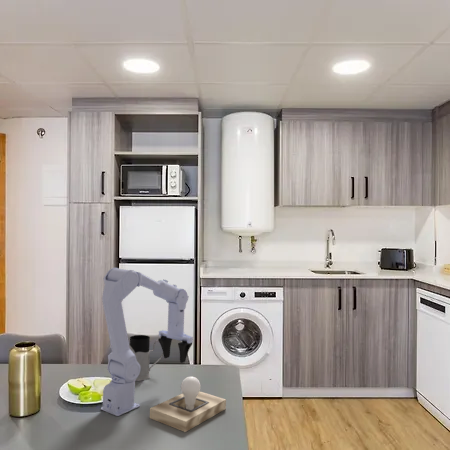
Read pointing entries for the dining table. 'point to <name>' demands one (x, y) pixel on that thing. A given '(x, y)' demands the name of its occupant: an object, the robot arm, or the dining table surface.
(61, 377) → the dining table surface
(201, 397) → the socket plate
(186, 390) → the lightbulb
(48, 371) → the dining table surface
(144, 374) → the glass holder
